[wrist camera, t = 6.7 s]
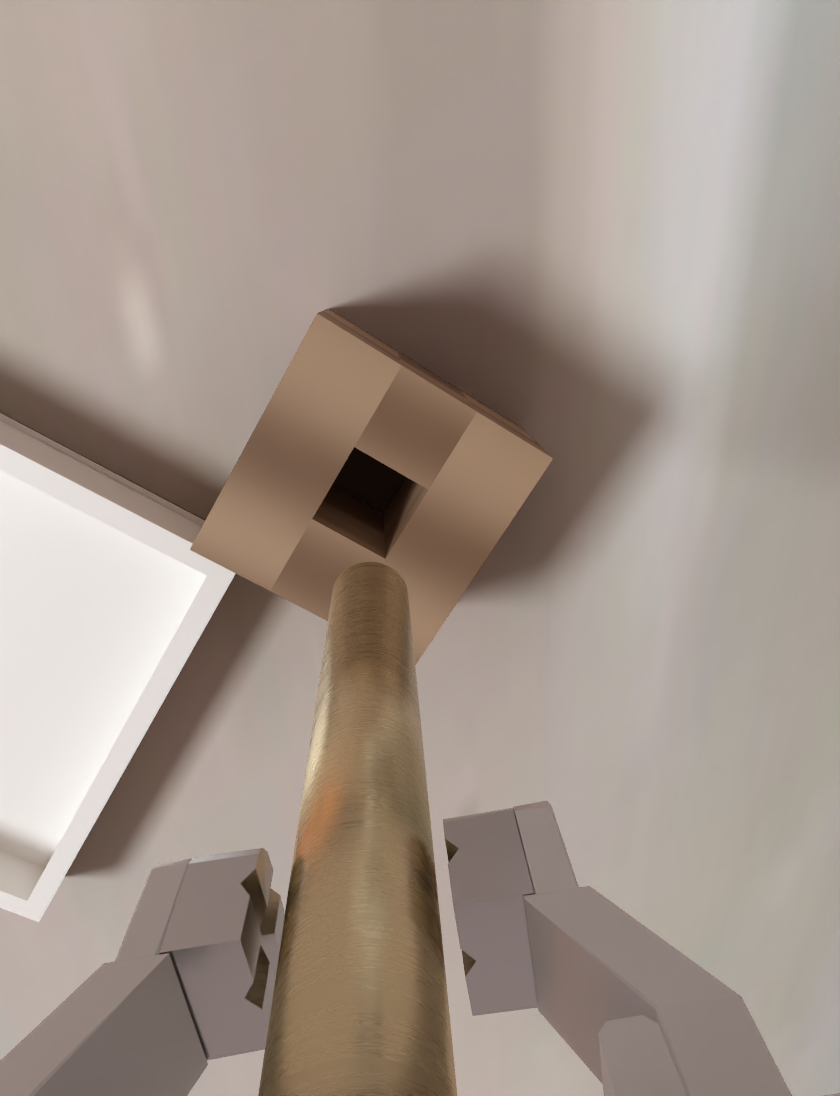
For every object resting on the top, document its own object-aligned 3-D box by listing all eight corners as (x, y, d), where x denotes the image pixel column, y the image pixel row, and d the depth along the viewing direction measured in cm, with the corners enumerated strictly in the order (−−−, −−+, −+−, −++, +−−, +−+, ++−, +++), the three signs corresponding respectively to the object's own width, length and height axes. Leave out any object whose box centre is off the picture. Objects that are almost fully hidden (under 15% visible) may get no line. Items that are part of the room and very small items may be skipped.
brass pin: (348, 522, 19) (263, 1244, 5) (448, 578, 19) (635, 1357, 5) (292, 616, 20) (70, 1476, 5) (390, 666, 20) (418, 1550, 6)
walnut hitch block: (327, 308, 31) (317, 313, 26) (523, 429, 34) (553, 458, 28) (220, 505, 34) (189, 549, 28) (408, 606, 36) (414, 665, 30)
